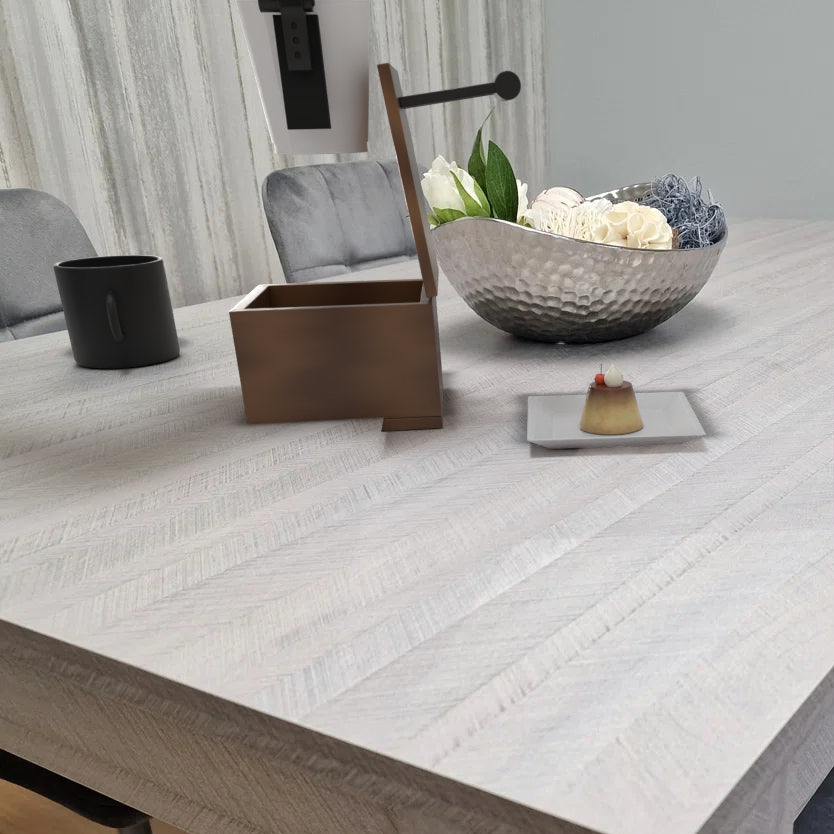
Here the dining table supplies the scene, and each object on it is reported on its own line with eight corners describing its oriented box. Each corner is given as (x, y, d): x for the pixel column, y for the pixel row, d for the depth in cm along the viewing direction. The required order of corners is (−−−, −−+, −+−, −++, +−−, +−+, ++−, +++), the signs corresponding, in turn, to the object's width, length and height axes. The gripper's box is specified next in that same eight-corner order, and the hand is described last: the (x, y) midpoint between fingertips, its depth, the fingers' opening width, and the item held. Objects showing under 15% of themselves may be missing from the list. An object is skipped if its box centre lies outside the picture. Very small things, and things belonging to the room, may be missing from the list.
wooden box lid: (376, 64, 66) (517, 42, 66) (386, 72, 77) (507, 53, 78) (426, 298, 72) (555, 276, 73) (429, 273, 84) (540, 254, 84)
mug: (67, 379, 93) (43, 274, 89) (80, 353, 103) (58, 258, 99) (179, 370, 96) (160, 267, 92) (181, 345, 106) (164, 252, 102)
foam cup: (408, 149, 76) (390, -59, 71) (360, 154, 68) (335, -81, 63) (288, 151, 78) (260, -52, 72) (226, 156, 70) (190, -73, 64)
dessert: (528, 410, 80) (525, 347, 78) (682, 405, 81) (683, 343, 79) (527, 456, 70) (524, 385, 68) (705, 450, 70) (707, 380, 68)
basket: (249, 438, 75) (228, 311, 71) (275, 395, 86) (259, 284, 82) (442, 428, 76) (432, 303, 73) (443, 387, 88) (434, 278, 84)
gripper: (310, -351, 53) (361, 129, 63) (348, -224, 73) (382, 126, 83) (158, -356, 52) (233, 131, 62) (238, -226, 72) (285, 128, 82)
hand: (318, 128), depth 72 cm, fingers closed on foam cup, 9 cm apart
